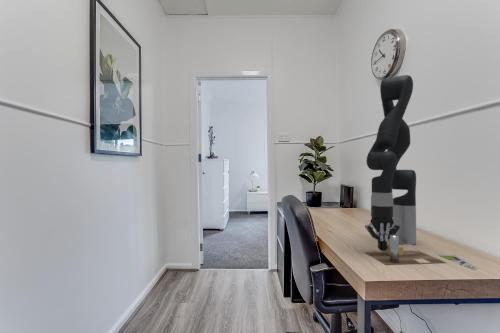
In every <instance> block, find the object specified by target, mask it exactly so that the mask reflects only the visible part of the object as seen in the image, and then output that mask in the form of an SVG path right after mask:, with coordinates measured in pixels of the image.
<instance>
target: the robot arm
mask: <svg viewBox="0 0 500 333" xmlns="http://www.w3.org/2000/svg"><path fill="white" fill-rule="evenodd" d="M379 88H380V89H379V92H380V100H381V105H382V111H383V116H384V118H383V119H382V121H381V122H380V124H379V126H378V130H377V134H376V137H375V138H376V139H375V141H374V143H373V144H372V146H371V148H370V150H369V151H368V153H367V156H366V166H367V167H368V169H370V170H373V171H382V172H381V174H380V175H378V176H374V177H372V178H371V195H370V216H371V219H370V221H369V223H368V224H365V225H364V228H365V230H366V231H367V232H368V234H370V236H371V238H373V239H375V240H377V248H378V250H379V251H380V252H384V251H386V249H387V243H388V241H390V235H391V234H393V235H398V236H399V245H411V246H413V245H417V204H416V203H417V201H416V191H417V189H416V188H417V174H416V172H415V170H414V169H397V166H398V164H399V162H400V160H401V158H403V156H404V154H406V152H407V150H408V149H409V147H410V146H411V128H410V127H409V125H408V123H407V122H406V121H405V120H404V119H403V117H404V115H405V113H406V110H407V108H408V105H409V103H410V99H411V97H412V94H413V89H414V81H413V78H412V76H410V75H408V74H406V75H404V74H403V75H398V76H392V77H385V78H383V79H382V80H381V82H380V87H379ZM394 101H396V104H394ZM393 190H399V191H400V190H402V191H403V190H404V191H407V192H406V193H404V194H402V195H400V196H397V197H393V196H394V195H393Z"/></svg>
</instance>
